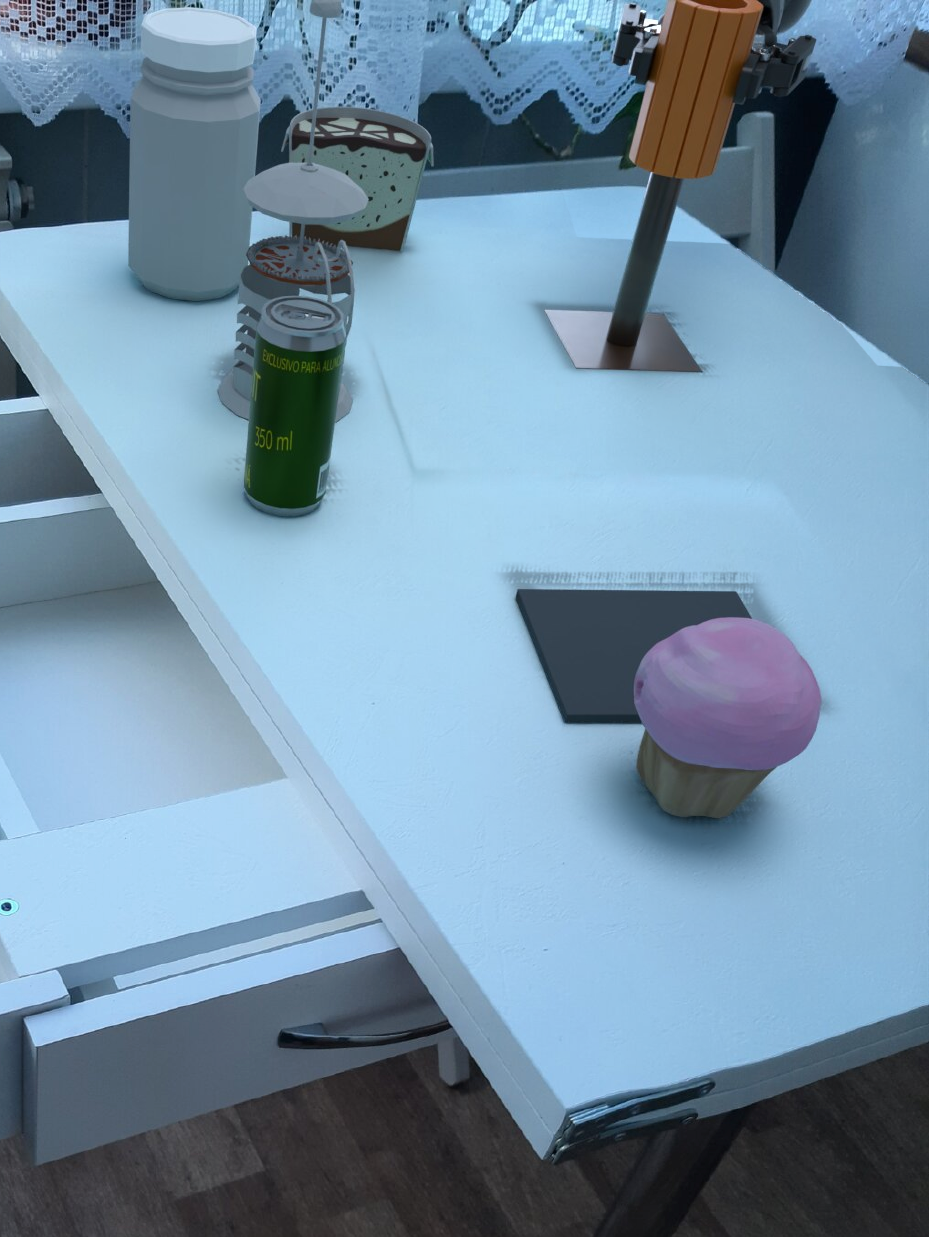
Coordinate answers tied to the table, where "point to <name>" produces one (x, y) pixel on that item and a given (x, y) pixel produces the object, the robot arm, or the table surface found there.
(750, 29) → the orange hollow cylinder
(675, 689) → the cupcake
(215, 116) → the jar
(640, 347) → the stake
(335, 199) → the french press
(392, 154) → the food container
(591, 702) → the mat
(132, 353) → the table surface
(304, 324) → the beer can
